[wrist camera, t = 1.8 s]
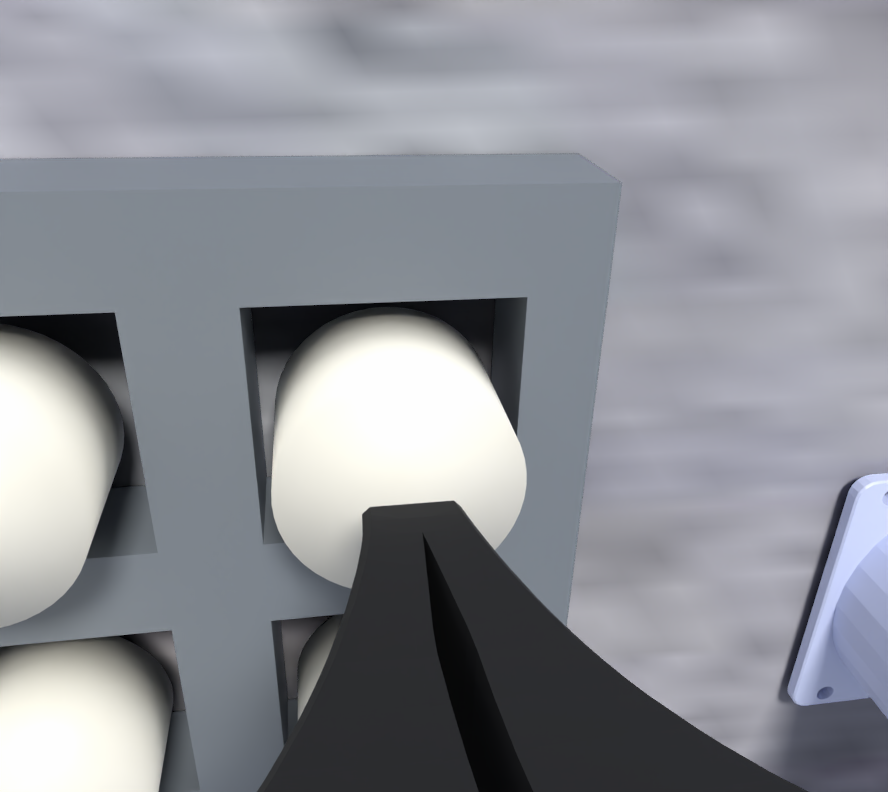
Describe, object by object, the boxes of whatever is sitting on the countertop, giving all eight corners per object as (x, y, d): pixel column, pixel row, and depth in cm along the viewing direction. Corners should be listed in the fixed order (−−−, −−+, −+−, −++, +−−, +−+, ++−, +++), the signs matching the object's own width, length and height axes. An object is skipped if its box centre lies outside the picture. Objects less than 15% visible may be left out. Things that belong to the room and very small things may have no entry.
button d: (159, 618, 17) (135, 734, 15) (184, 751, 19) (167, 874, 17) (-52, 639, 17) (-115, 763, 14) (-4, 773, 19) (-52, 905, 16)
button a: (494, 302, 15) (535, 372, 13) (484, 487, 17) (518, 582, 15) (266, 311, 15) (260, 387, 12) (282, 503, 17) (281, 603, 14)
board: (578, 153, 16) (621, 182, 14) (522, 723, 23) (544, 798, 21) (-287, 161, 14) (-393, 197, 11) (-41, 790, 21) (-78, 882, 19)
